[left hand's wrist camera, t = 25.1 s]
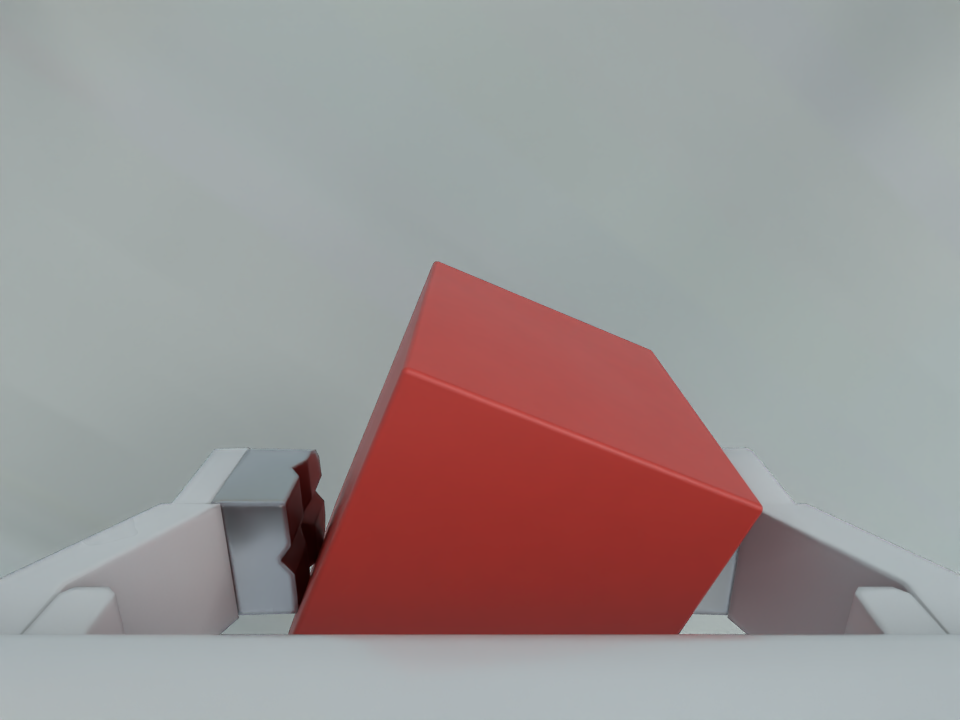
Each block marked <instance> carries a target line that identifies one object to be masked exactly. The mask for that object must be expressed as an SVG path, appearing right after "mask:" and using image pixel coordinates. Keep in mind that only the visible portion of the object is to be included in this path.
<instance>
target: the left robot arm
mask: <svg viewBox="0 0 960 720" xmlns="http://www.w3.org/2000/svg"><path fill="white" fill-rule="evenodd" d="M722 450H723V452H724V453H725V454H726V456H727V457H728V459H729V460H730V461H731V463H732V464H733V466H734V467H735V468H736V470H737V471H738V473H739V474H740V475H741V477H742V478H743V480H744V481H745V482H746V484H747V485H748V487H749V488H750V489H751V491H752V492H753V494H754V495H755V496H756V498H757V499H758V501H759V502H760V503H761V505H762V506H763V510H762V513H761V514H760V516H759V517H758V519H757V520H756V522H755V523H754V525H753V526H752V528H751V529H750V531H749V532H748V533H747V535H746V536H745V538H744V539H743V541H742V542H741V544H740V545H739V547H738V548H737V550H736V551H735V552H734V554H733V555H732V557H731V558H730V560H729V561H728V563H727V564H726V566H725V567H724V569H723V570H722V571H721V573H720V574H719V576H718V577H717V579H716V580H715V582H714V583H713V585H712V586H711V588H710V589H709V591H708V592H707V593H706V595H705V596H704V598H703V599H702V601H701V602H700V604H699V605H698V607H697V608H696V610H695V611H694V612H693V614H711V615H728V618H729V619H730V620H731V621H732V622H733V623H735V624H736V625H737V626H738V627H739V628H740V629H742V630H743V631H744V632H745V633H746V634H221V633H222V632H223V631H224V630H225V629H227V628H228V627H229V626H230V625H231V624H232V623H234V622H235V621H236V620H237V619H238V618H239V616H238V615H255V614H291V613H297V612H298V609H299V607H300V604H301V601H302V598H303V596H304V593H305V590H306V587H307V584H308V582H309V579H310V568H309V567H311V566H312V565H313V564H315V562H316V559H317V557H318V554H319V551H320V549H321V546H322V543H323V540H324V534H325V506H324V500H323V499H322V498H321V497H320V496H319V495H318V493H317V492H316V491H315V490H316V488H317V485H318V483H319V480H320V478H321V468H320V460H319V455H318V453H317V451H316V450H311V449H256V448H253V449H250V448H221V449H214V451H213V452H212V453H211V454H210V455H209V457H208V458H207V459H206V460H205V462H204V463H203V464H202V465H201V467H200V468H199V469H198V470H197V472H196V473H195V474H194V475H193V477H192V478H191V479H190V481H189V482H188V483H187V484H186V486H185V487H184V488H183V489H182V491H181V492H180V493H179V494H178V496H177V497H176V498H175V499H174V501H173V502H172V503H164V504H159V505H157V506H154V507H152V508H150V509H148V510H146V511H144V512H141V513H139V514H137V515H135V516H133V517H131V518H129V519H126V520H124V521H122V522H120V523H118V524H116V525H114V526H111V527H109V528H107V529H105V530H103V531H101V532H98V533H96V534H94V535H92V536H90V537H88V538H86V539H83V540H81V541H79V542H77V543H75V544H73V545H71V546H68V547H66V548H64V549H62V550H60V551H58V552H55V553H53V554H51V555H49V556H47V557H45V558H43V559H40V560H38V561H36V562H34V563H32V564H30V565H28V566H25V567H23V568H21V569H19V570H17V571H15V572H12V573H10V574H8V575H6V576H4V577H2V578H0V720H960V574H958V573H956V572H953V571H951V570H949V569H947V568H945V567H943V566H940V565H938V564H936V563H934V562H932V561H930V560H927V559H925V558H923V557H921V556H919V555H917V554H914V553H912V552H910V551H908V550H906V549H904V548H901V547H899V546H897V545H895V544H893V543H891V542H889V541H886V540H884V539H882V538H880V537H878V536H876V535H873V534H871V533H869V532H867V531H865V530H863V529H860V528H858V527H856V526H854V525H852V524H850V523H847V522H845V521H843V520H841V519H839V518H837V517H834V516H832V515H830V514H828V513H826V512H824V511H821V510H819V509H817V508H815V507H813V506H811V505H808V504H804V503H795V502H794V501H793V499H792V498H791V497H790V496H789V495H788V493H787V492H786V491H785V490H784V488H783V487H782V486H781V485H780V484H779V482H778V481H777V480H776V479H775V477H774V476H773V475H772V474H771V473H770V471H769V470H768V469H767V468H766V466H765V465H764V464H763V463H762V461H761V460H760V459H759V458H758V457H757V455H756V454H755V453H754V452H753V450H751V449H748V448H725V449H722Z"/></svg>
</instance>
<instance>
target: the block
mask: <svg viewBox="0 0 960 720" xmlns="http://www.w3.org/2000/svg"><path fill="white" fill-rule="evenodd" d="M762 510H763V506H762V505H761V503H760V502H759V501H758V499H757V498H756V496H755V495H754V494H753V492H752V491H751V489H750V488H749V487H748V485H747V484H746V482H745V481H744V480H743V478H742V477H741V475H740V474H739V473H738V471H737V470H736V468H735V467H734V466H733V464H732V463H731V461H730V460H729V459H728V457H727V456H726V454H725V453H724V452H723V450H722V449H721V447H720V446H719V445H718V443H717V442H716V440H715V439H714V438H713V436H712V435H711V433H710V432H709V431H708V429H707V428H706V426H705V425H704V424H703V422H702V421H701V419H700V418H699V417H698V415H697V414H696V412H695V411H694V409H693V408H692V407H691V405H690V404H689V402H688V401H687V400H686V398H685V397H684V395H683V394H682V393H681V391H680V390H679V388H678V387H677V386H676V384H675V383H674V381H673V380H672V379H671V377H670V376H669V374H668V373H667V372H666V370H665V369H664V367H663V366H662V365H661V363H660V362H659V360H658V359H657V358H656V356H655V355H654V353H653V352H652V351H651V350H649V349H647V348H644V347H642V346H639V345H637V344H635V343H632V342H630V341H627V340H625V339H623V338H620V337H618V336H615V335H613V334H611V333H608V332H606V331H603V330H601V329H599V328H596V327H594V326H591V325H589V324H587V323H584V322H582V321H579V320H577V319H575V318H572V317H570V316H567V315H565V314H563V313H560V312H558V311H556V310H553V309H551V308H548V307H546V306H544V305H541V304H539V303H536V302H534V301H532V300H529V299H527V298H524V297H522V296H520V295H517V294H515V293H512V292H510V291H508V290H505V289H503V288H500V287H498V286H496V285H493V284H491V283H488V282H486V281H484V280H481V279H479V278H476V277H474V276H472V275H469V274H467V273H465V272H462V271H460V270H457V269H455V268H453V267H450V266H448V265H445V264H443V263H441V262H434V263H433V265H432V268H431V270H430V273H429V275H428V278H427V280H426V283H425V285H424V287H423V290H422V292H421V295H420V297H419V300H418V302H417V305H416V307H415V310H414V312H413V314H412V317H411V319H410V322H409V324H408V327H407V329H406V332H405V334H404V337H403V339H402V341H401V344H400V346H399V349H398V351H397V354H396V356H395V359H394V361H393V364H392V366H391V369H390V371H389V373H388V376H387V378H386V381H385V383H384V386H383V388H382V391H381V393H380V396H379V398H378V400H377V403H376V405H375V408H374V410H373V413H372V415H371V418H370V420H369V423H368V425H367V427H366V430H365V432H364V435H363V437H362V440H361V442H360V445H359V447H358V450H357V452H356V455H355V457H354V459H353V462H352V464H351V467H350V469H349V472H348V474H347V477H346V479H345V482H344V484H343V486H342V489H341V491H340V494H339V496H338V499H337V501H336V504H335V507H334V509H333V512H332V515H331V518H330V520H329V523H328V526H327V529H326V531H325V534H324V540H323V543H322V546H321V549H320V551H319V554H318V557H317V559H316V562H315V564H313V567H312V570H311V573H310V579H309V582H308V584H307V587H306V590H305V593H304V596H303V598H302V601H301V604H300V607H299V609H298V612H297V613H296V614H295V617H294V619H293V622H292V625H291V627H290V630H289V633H288V634H679V633H680V631H681V630H682V629H683V627H684V626H685V624H686V623H687V621H688V620H689V618H690V617H691V615H692V614H693V612H694V611H695V610H696V608H697V607H698V605H699V604H700V602H701V601H702V599H703V598H704V596H705V595H706V593H707V592H708V591H709V589H710V588H711V586H712V585H713V583H714V582H715V580H716V579H717V577H718V576H719V574H720V573H721V571H722V570H723V569H724V567H725V566H726V564H727V563H728V561H729V560H730V558H731V557H732V555H733V554H734V552H735V551H736V550H737V548H738V547H739V545H740V544H741V542H742V541H743V539H744V538H745V536H746V535H747V533H748V532H749V531H750V529H751V528H752V526H753V525H754V523H755V522H756V520H757V519H758V517H759V516H760V514H761V513H762Z"/></svg>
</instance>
